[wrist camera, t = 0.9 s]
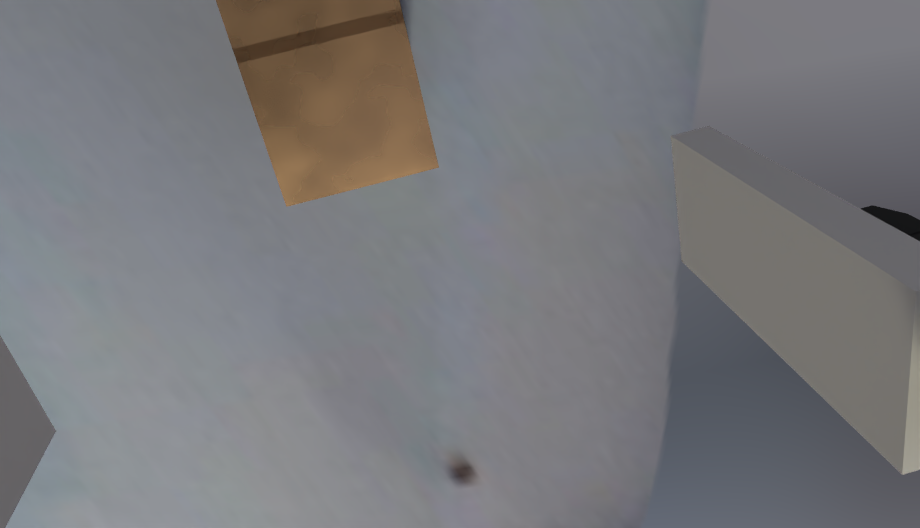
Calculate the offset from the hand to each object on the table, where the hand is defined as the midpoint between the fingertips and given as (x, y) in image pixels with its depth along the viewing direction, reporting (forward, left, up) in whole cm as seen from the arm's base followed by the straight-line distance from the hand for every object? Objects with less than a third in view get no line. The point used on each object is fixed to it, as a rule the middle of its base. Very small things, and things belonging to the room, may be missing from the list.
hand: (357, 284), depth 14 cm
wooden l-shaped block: (0, 0, -26) cm, 26 cm away
